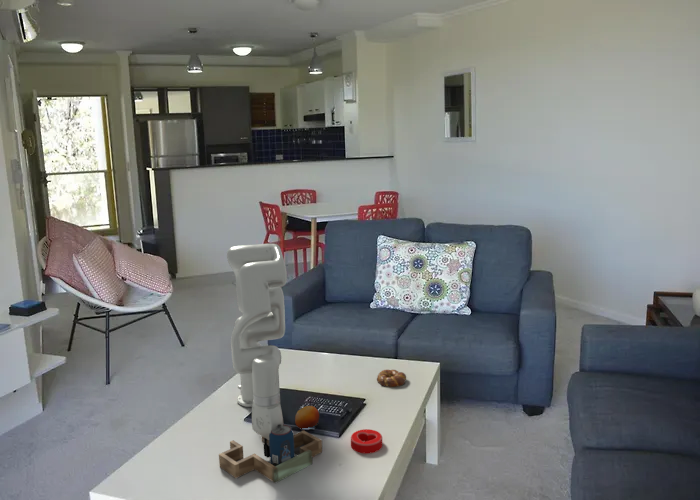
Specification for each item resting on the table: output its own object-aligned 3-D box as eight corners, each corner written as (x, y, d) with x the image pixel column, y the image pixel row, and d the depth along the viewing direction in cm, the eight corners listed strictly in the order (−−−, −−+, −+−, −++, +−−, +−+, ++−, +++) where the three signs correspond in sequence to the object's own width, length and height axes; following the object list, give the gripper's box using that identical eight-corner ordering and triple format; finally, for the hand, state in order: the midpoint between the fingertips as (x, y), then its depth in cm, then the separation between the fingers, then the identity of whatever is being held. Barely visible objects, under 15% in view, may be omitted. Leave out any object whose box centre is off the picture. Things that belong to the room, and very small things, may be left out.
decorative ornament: (352, 455, 184) (351, 445, 183) (350, 438, 193) (349, 429, 193) (384, 453, 184) (384, 443, 184) (380, 437, 194) (380, 427, 193)
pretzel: (369, 381, 235) (369, 372, 235) (390, 373, 242) (390, 364, 241) (391, 391, 226) (391, 381, 226) (412, 382, 233) (412, 373, 232)
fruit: (321, 430, 196) (308, 409, 195) (301, 440, 198) (288, 419, 197) (327, 418, 203) (314, 398, 203) (308, 428, 206) (295, 408, 205)
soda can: (280, 458, 182) (278, 421, 180) (299, 464, 179) (298, 426, 176) (265, 470, 177) (263, 431, 174) (285, 476, 173) (283, 437, 171)
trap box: (212, 461, 182) (211, 449, 181) (282, 430, 199) (281, 419, 198) (256, 492, 166) (255, 479, 165) (328, 455, 183) (327, 443, 183)
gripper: (241, 393, 181) (245, 450, 185) (271, 410, 170) (274, 470, 175) (262, 385, 186) (265, 441, 190) (293, 401, 175) (295, 460, 180)
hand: (270, 454), depth 182 cm, fingers closed
